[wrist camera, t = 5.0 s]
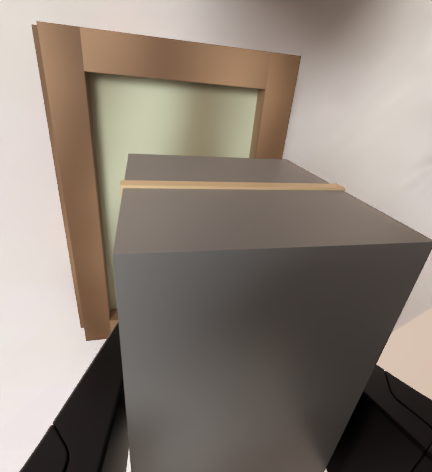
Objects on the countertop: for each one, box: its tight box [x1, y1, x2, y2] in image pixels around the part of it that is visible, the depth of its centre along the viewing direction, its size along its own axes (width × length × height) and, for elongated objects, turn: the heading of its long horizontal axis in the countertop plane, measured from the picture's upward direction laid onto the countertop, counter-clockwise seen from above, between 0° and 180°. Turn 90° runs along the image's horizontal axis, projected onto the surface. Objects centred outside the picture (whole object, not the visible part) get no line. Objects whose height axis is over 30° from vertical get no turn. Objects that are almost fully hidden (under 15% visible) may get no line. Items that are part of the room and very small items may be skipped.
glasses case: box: [113, 153, 432, 472], centre depth 8 cm, size 4×10×5 cm, turn 175°
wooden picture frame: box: [32, 21, 301, 341], centre depth 17 cm, size 12×16×3 cm
